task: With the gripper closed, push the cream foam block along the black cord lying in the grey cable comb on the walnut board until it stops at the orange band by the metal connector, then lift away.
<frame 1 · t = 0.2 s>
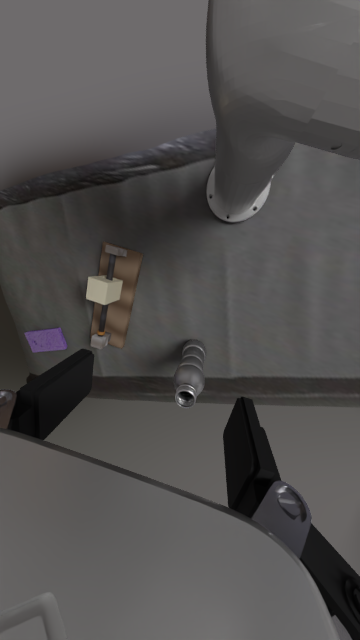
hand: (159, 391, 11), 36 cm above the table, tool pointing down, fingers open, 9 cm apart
cream foam block: (105, 289, 42), point 6 cm above the table, slide at 0.0 cm
sponges: (49, 338, 58), on the table
cord board: (115, 298, 49), on the table
plastic bottle: (195, 348, 50), on the table
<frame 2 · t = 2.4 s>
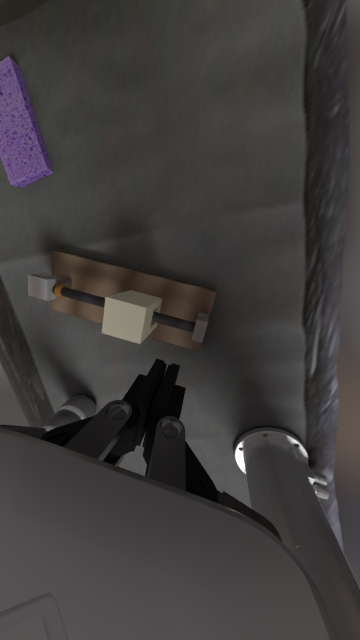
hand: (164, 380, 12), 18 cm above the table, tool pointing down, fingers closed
cream foam block: (134, 314, 24), point 6 cm above the table, slide at 0.0 cm
sponges: (24, 136, 27), on the table
cord board: (130, 299, 30), on the table
plastic bottle: (86, 402, 39), on the table
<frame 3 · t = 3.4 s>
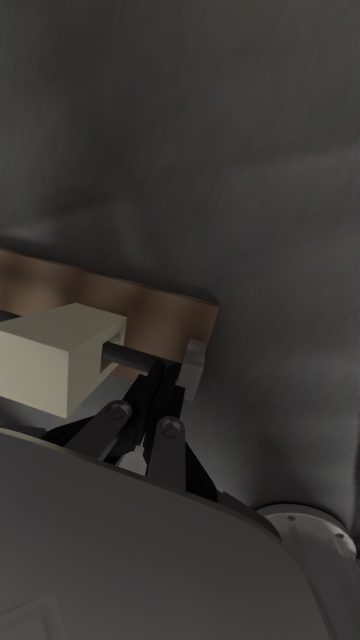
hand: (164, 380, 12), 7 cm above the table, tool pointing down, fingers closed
cream foam block: (71, 348, 13), point 6 cm above the table, slide at 0.0 cm
cord board: (84, 315, 19), on the table
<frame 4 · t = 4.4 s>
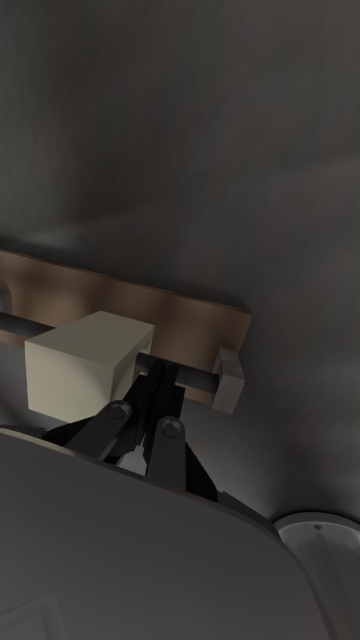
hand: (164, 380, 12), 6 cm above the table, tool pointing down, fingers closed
cream foam block: (102, 359, 13), point 6 cm above the table, slide at 0.2 cm, touching gripper
cord board: (107, 323, 19), on the table
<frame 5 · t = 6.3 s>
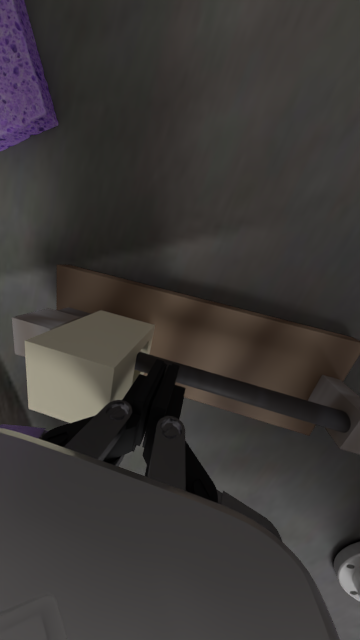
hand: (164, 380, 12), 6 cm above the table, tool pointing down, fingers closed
cream foam block: (102, 359, 13), point 6 cm above the table, slide at 9.1 cm, touching gripper
sponges: (4, 52, 14), on the table
cord board: (187, 345, 18), on the table
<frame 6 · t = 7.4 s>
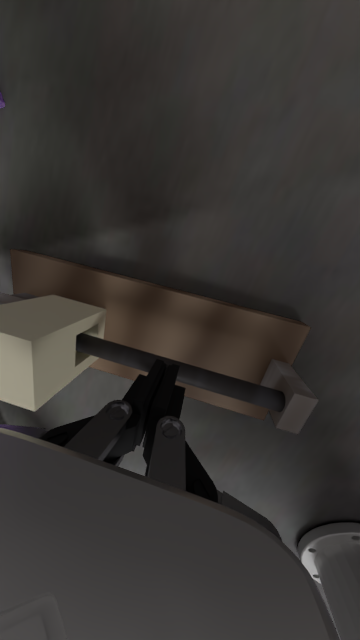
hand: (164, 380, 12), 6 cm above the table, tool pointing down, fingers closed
cream foam block: (45, 341, 13), point 6 cm above the table, slide at 9.1 cm
cord board: (146, 331, 18), on the table
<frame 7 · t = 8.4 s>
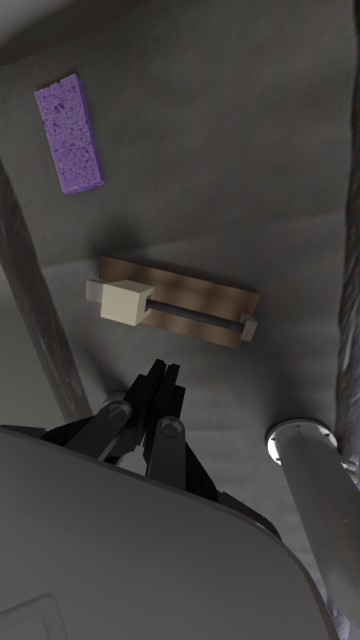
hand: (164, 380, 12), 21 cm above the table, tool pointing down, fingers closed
cream foam block: (130, 300, 27), point 6 cm above the table, slide at 9.1 cm
sponges: (77, 146, 28), on the table
cord board: (173, 301, 32), on the table
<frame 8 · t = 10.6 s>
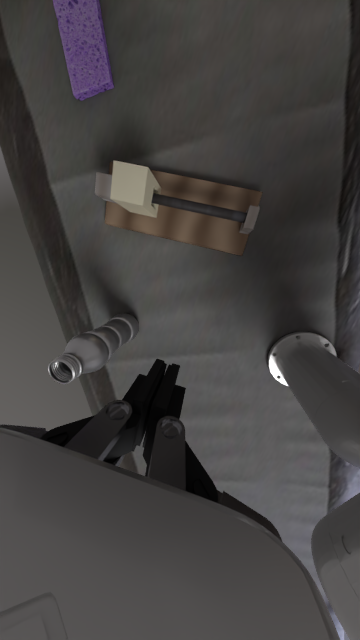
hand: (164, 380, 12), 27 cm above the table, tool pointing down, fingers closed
cream foam block: (137, 192, 28), point 6 cm above the table, slide at 9.1 cm
sponges: (89, 50, 29), on the table
cord board: (178, 211, 33), on the table
plastic bottle: (128, 324, 42), on the table
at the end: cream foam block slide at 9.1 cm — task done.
